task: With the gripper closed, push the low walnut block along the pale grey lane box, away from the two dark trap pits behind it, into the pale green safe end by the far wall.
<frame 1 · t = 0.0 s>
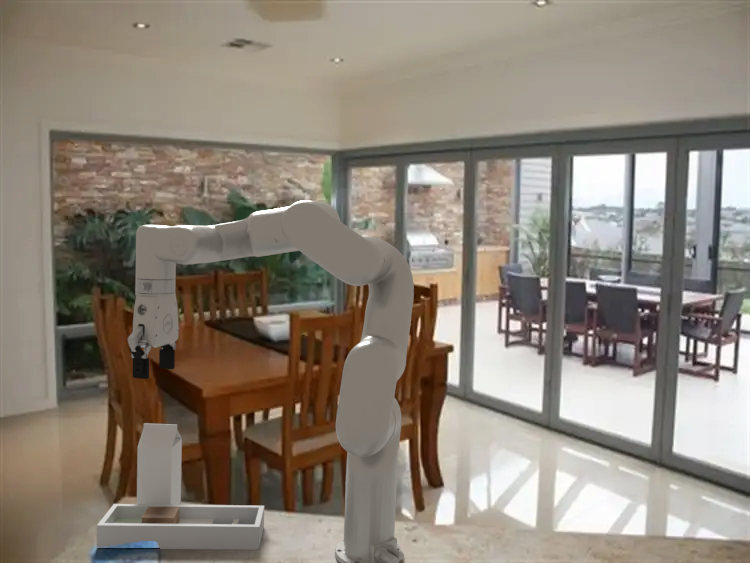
hand: (154, 373, 137), 31 cm above the countertop, tool pointing down, fingers open, 9 cm apart
milk carton: (159, 512, 145), on the countertop
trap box: (184, 537, 134), on the countertop
block: (160, 527, 134), point 2 cm above the countertop, touching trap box
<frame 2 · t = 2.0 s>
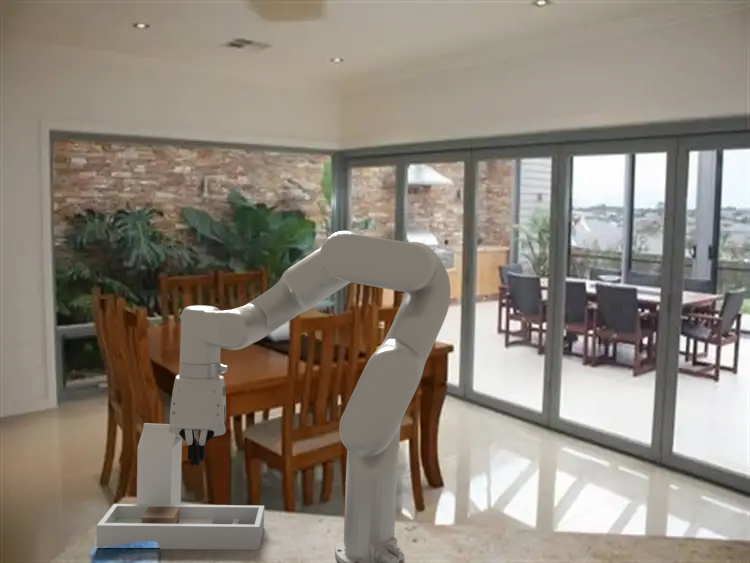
hand: (196, 463, 133), 15 cm above the countertop, tool pointing down, fingers closed
nothing on the countertop moved.
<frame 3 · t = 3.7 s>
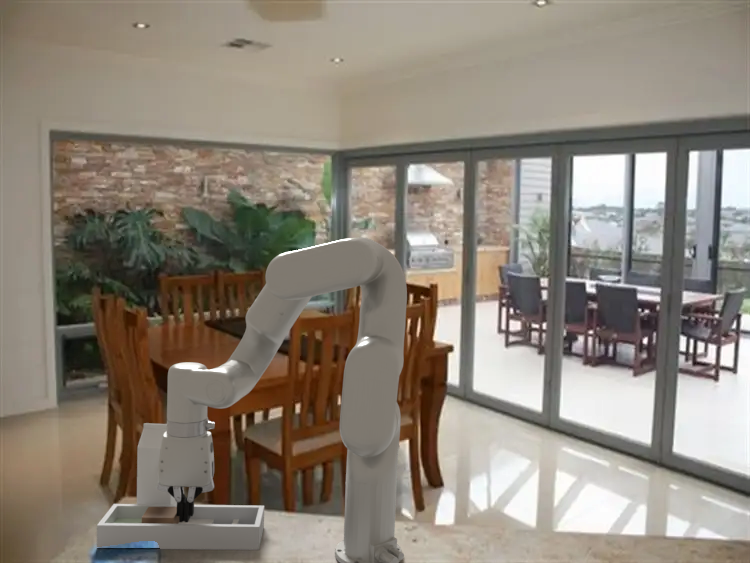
hand: (185, 519, 134), 4 cm above the countertop, tool pointing down, fingers closed
block: (160, 527, 134), point 2 cm above the countertop, touching gripper
everything else where it was.
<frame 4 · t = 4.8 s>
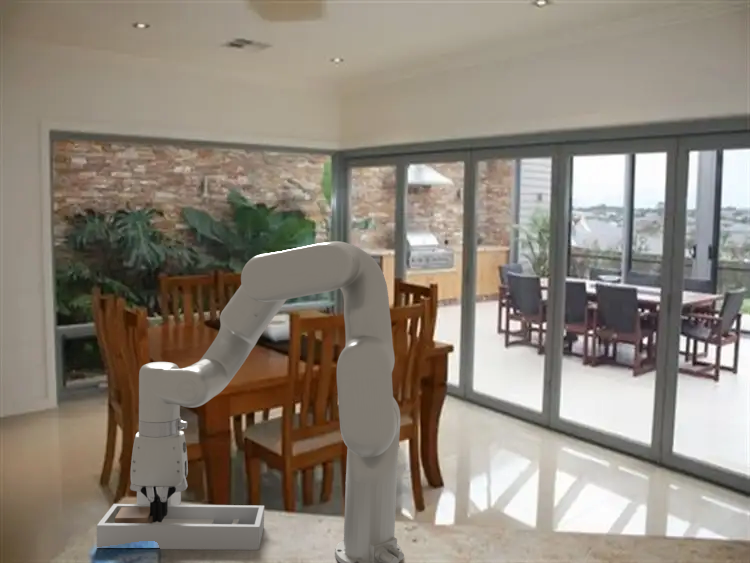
hand: (158, 519, 134), 4 cm above the countertop, tool pointing down, fingers closed
block: (134, 527, 133), point 2 cm above the countertop, touching gripper, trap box
everything else where it was.
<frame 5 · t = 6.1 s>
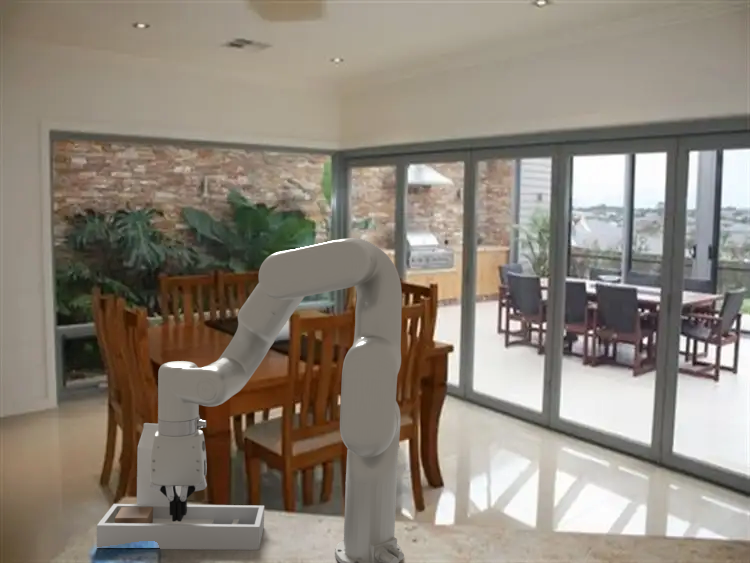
hand: (178, 518, 134), 4 cm above the countertop, tool pointing down, fingers closed
block: (134, 527, 133), point 2 cm above the countertop, touching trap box
everything else where it was.
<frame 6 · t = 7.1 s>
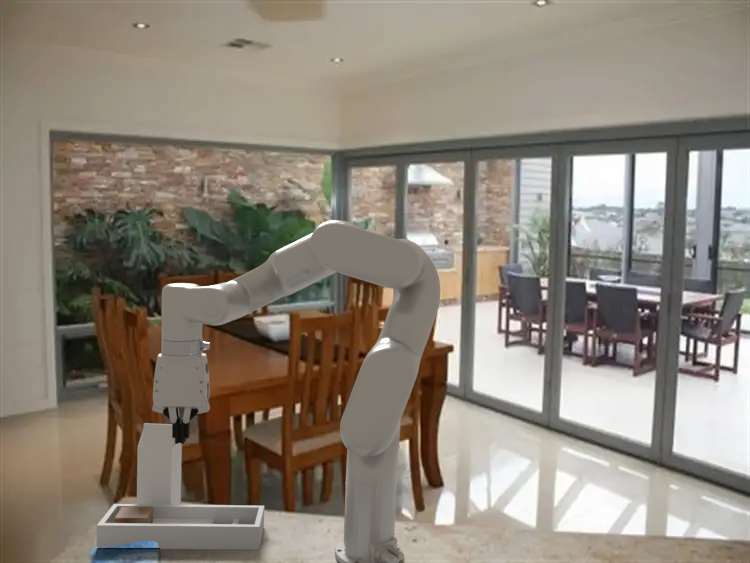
hand: (180, 441, 133), 19 cm above the countertop, tool pointing down, fingers closed
nothing on the countertop moved.
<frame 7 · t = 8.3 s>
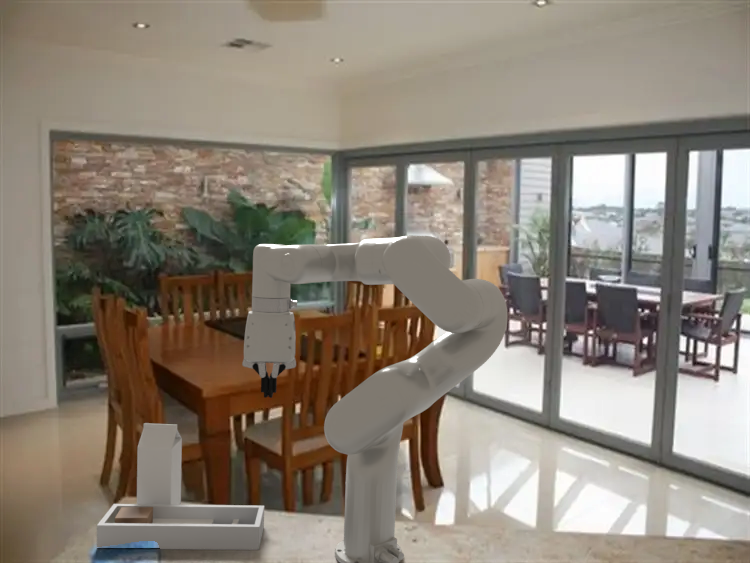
hand: (268, 395, 139), 27 cm above the countertop, tool pointing down, fingers closed
nothing on the countertop moved.
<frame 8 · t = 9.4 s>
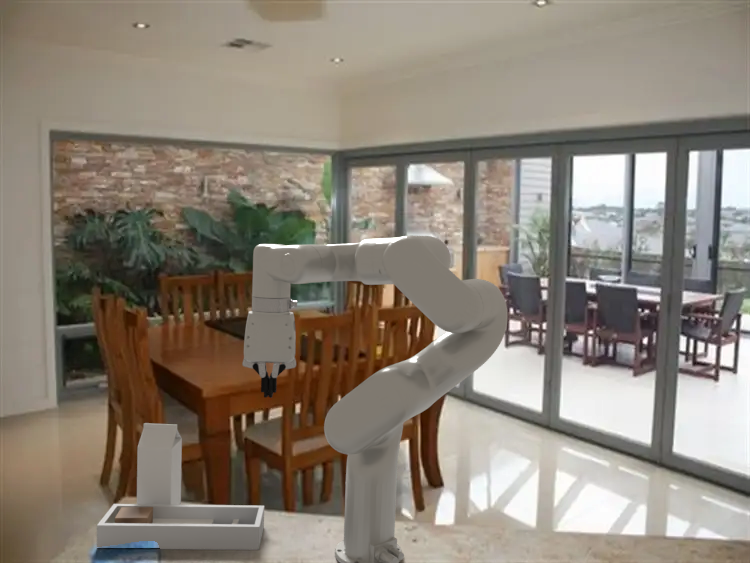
hand: (268, 395, 139), 27 cm above the countertop, tool pointing down, fingers closed
nothing on the countertop moved.
at the end: block 1.3 cm from the target spot on the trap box, point 2.0 cm above the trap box's base; block tilted 0° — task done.
